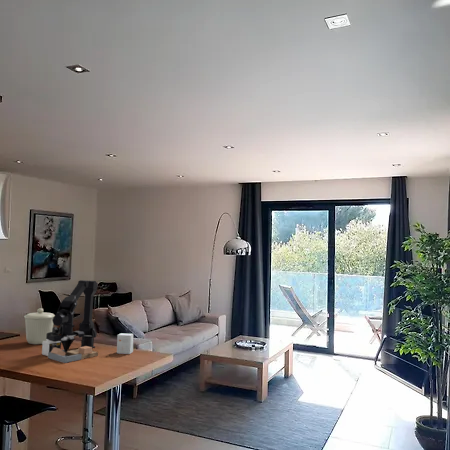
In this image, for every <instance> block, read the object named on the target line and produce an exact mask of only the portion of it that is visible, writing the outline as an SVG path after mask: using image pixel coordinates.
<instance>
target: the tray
mask: <svg viewBox="0 0 450 450" xmlns="http://www.w3.org/2000/svg"><path fill="white" fill-rule="evenodd" d="M61 350H62V351H64V349H61ZM64 352H65V351H64ZM81 355H82V354H77V355H72V356H68V355H64V356H61V355H58V354H54V353H51V352H48V356H47V359H50V360H52V361H56V362H59V363H64V364H68V363H72V361H73V362H76V361H81V360H82V359H81Z"/></svg>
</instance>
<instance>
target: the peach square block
mask: <svg viewBox="0 0 450 450" xmlns="http://www.w3.org/2000/svg"><path fill="white" fill-rule="evenodd" d="M78 349H79V353H80V354H89V353H92V351H93V348H92V347H88V346H84V347H80V346H79V347H78Z"/></svg>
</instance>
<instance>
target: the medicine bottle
mask: <svg viewBox="0 0 450 450" xmlns="http://www.w3.org/2000/svg"><path fill="white" fill-rule="evenodd" d="M53 334H55V333H52V332H49V333H47V334H46V340H47V341H43V344H41V345H42V346H41V347H42V348H41V355H42V356H46V357H48V352H51V351H52V349H53V348H54V347H55V348H59V349H61V350H62V343H61V341H50V340H48V338H49V336H50V335H53Z"/></svg>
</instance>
